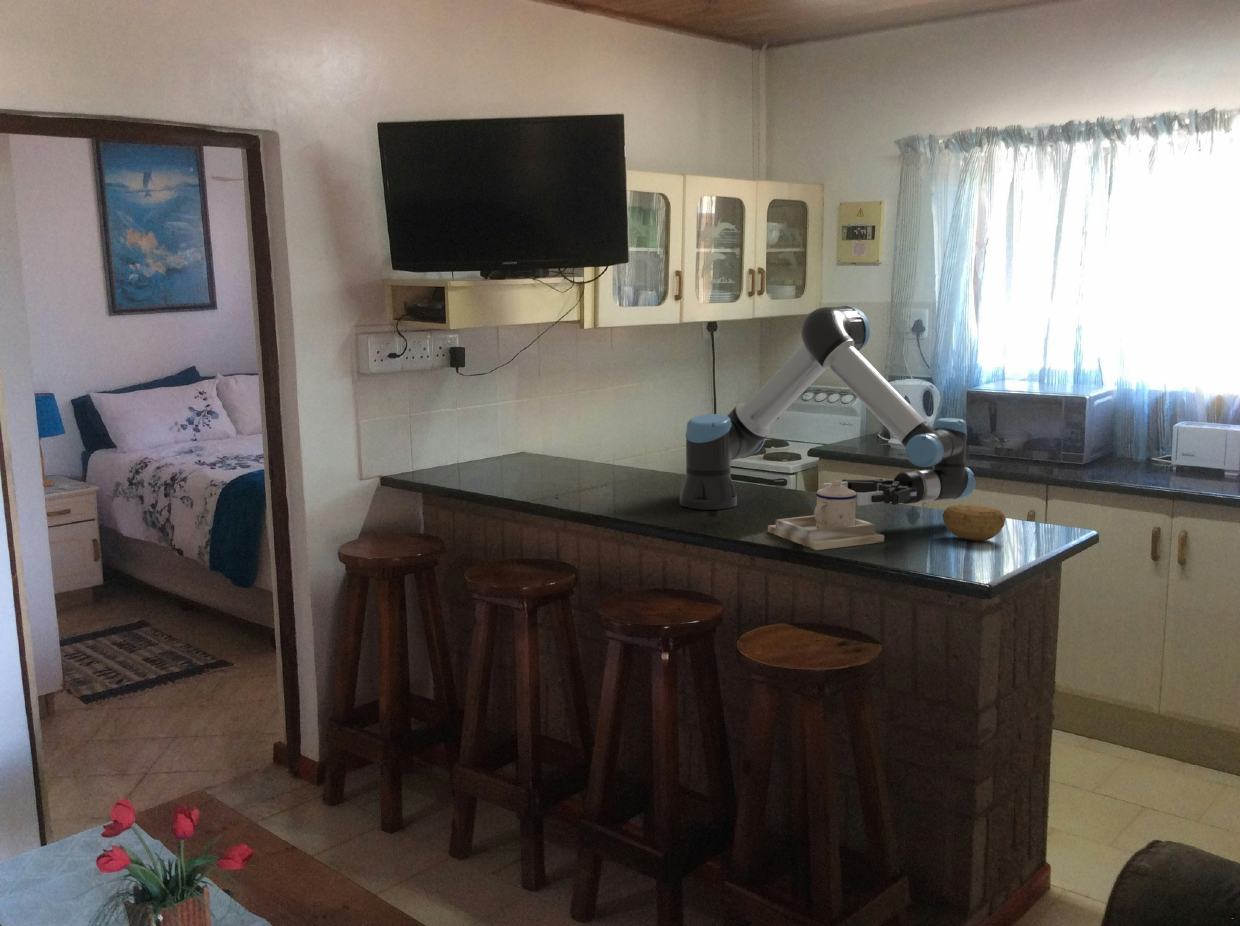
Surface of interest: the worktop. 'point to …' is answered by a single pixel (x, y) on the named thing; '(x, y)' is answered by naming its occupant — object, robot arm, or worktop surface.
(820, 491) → the teacup with lid
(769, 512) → the worktop surface
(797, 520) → the cradle board
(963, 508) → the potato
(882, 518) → the worktop surface
